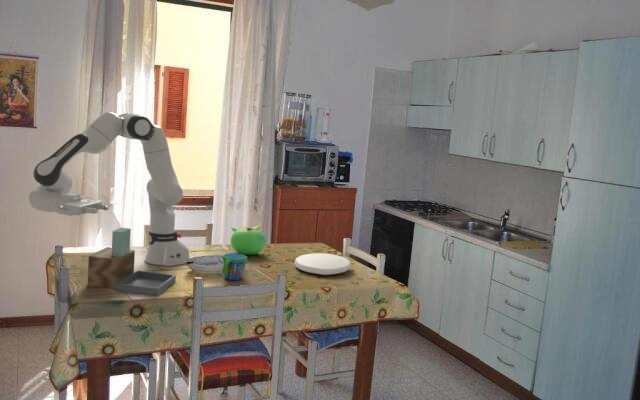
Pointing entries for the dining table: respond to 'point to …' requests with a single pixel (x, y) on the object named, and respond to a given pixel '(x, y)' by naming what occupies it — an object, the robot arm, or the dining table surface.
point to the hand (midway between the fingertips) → (102, 209)
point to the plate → (322, 263)
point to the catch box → (146, 283)
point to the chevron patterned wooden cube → (109, 268)
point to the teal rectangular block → (121, 242)
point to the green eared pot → (248, 240)
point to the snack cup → (234, 265)
